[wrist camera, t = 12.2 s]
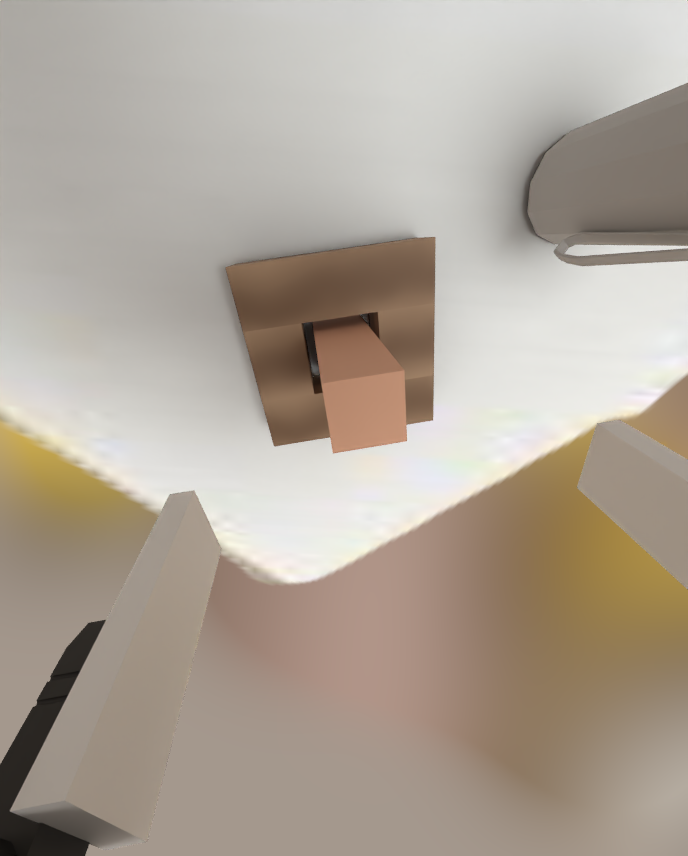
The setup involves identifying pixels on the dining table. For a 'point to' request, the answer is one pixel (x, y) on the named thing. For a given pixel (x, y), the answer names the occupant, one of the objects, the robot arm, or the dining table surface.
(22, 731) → the robot arm
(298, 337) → the socket block
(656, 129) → the water bottle
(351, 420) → the peg
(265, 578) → the dining table surface
